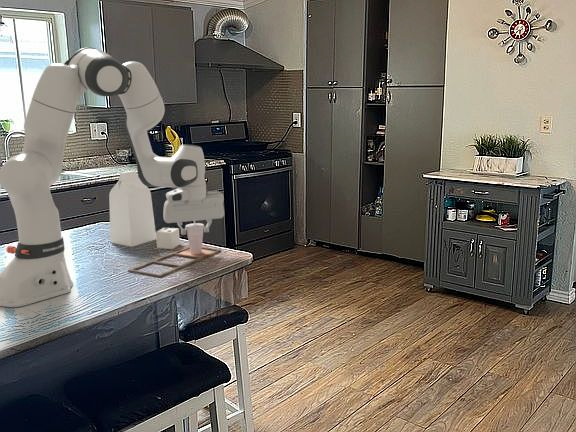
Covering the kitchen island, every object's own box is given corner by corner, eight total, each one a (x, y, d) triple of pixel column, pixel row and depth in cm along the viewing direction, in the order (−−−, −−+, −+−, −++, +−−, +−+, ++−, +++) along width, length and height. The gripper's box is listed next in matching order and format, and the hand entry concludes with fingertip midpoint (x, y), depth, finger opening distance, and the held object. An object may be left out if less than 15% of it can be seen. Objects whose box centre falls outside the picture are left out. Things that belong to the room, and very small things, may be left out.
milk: (135, 235, 223) (130, 168, 217) (156, 239, 216) (151, 170, 211) (110, 242, 213) (104, 172, 207) (131, 246, 207) (125, 174, 201)
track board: (160, 277, 172) (159, 275, 172) (128, 271, 178) (128, 269, 178) (221, 251, 198) (221, 249, 198) (191, 247, 204) (191, 245, 204)
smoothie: (204, 249, 200) (202, 210, 197) (206, 254, 194) (204, 214, 191) (186, 251, 199) (183, 211, 196) (187, 256, 193) (184, 215, 190)
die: (172, 249, 203) (171, 232, 202) (157, 248, 204) (155, 231, 203) (179, 244, 209) (178, 228, 207) (164, 243, 210) (163, 227, 209)
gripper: (221, 189, 198) (222, 228, 201) (161, 193, 192) (163, 234, 195) (225, 192, 193) (227, 232, 196) (163, 197, 186) (166, 238, 189)
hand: (195, 233), depth 195 cm, fingers closed on smoothie, 6 cm apart
